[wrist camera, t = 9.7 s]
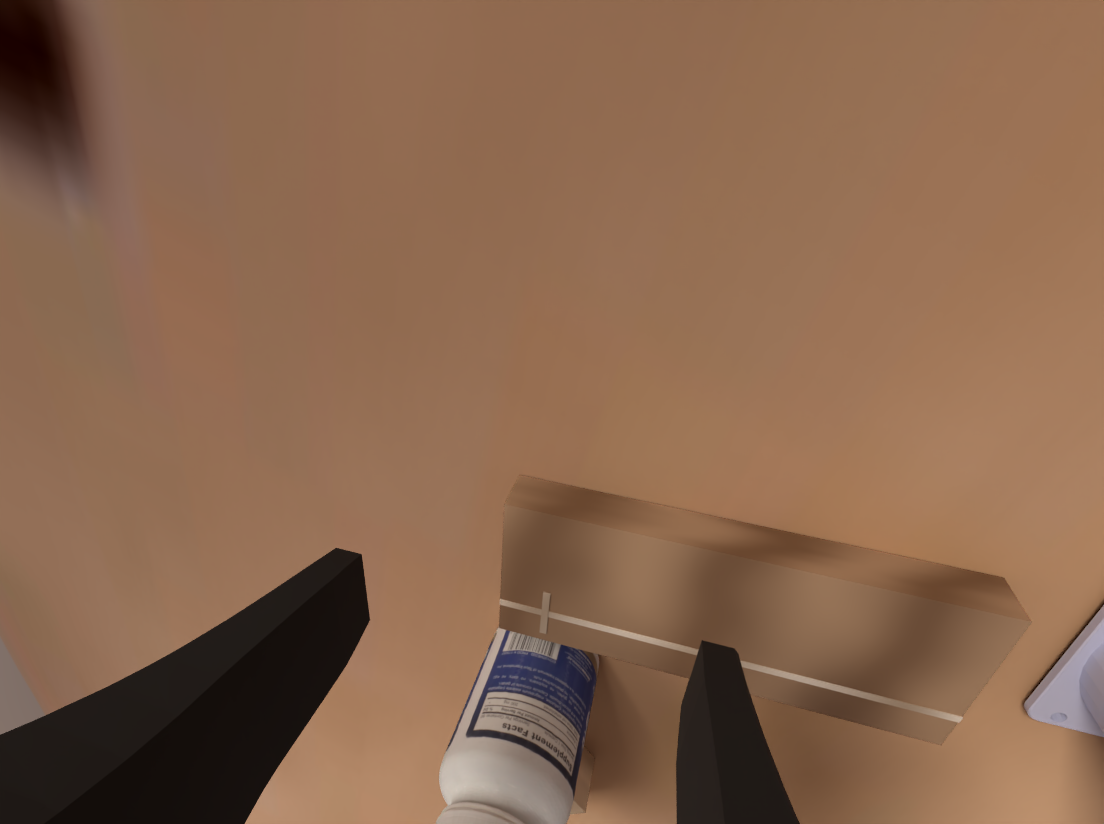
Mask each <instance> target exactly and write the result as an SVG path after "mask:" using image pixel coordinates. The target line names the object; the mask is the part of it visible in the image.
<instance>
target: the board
mask: <svg viewBox="0 0 1104 824" xmlns="http://www.w3.org/2000/svg"><path fill="white" fill-rule="evenodd" d="M1031 623H1032V621H1031V619H1030V618H1029V616H1028V615H1027V613H1026V612H1025V610H1024V608H1023V607H1022V605H1021V604H1020V602H1019V601H1018V599H1017V597H1016V596H1015V594H1014V593H1013V591H1012V590H1011V588H1010V586H1009V585H1008V583H1007V582H1006V580H1005V579H1004V578H1002V577H998V576H993V575H988V574H984V573H979V572H974V571H970V570H965V569H960V568H955V567H951V566H946V565H941V564H937V563H932V562H927V561H922V560H918V559H913V558H908V557H904V556H899V555H894V554H889V553H885V552H880V551H875V550H871V549H866V548H861V547H856V546H852V545H847V544H842V543H838V542H833V541H828V540H824V539H819V538H814V537H809V536H805V535H800V534H795V533H791V532H786V531H781V530H776V529H772V528H767V527H762V526H758V525H753V524H748V523H743V522H739V521H734V520H729V519H725V518H720V517H715V516H711V515H706V514H701V513H696V512H692V511H687V510H682V509H678V508H673V507H668V506H663V505H659V504H654V503H649V502H645V501H640V500H635V499H630V498H626V497H621V496H616V495H612V494H607V493H602V492H598V491H593V490H588V489H583V488H579V487H574V486H569V485H565V484H560V483H555V482H550V481H546V480H541V479H536V478H532V477H527V476H522V475H519V477H518V479H517V481H516V483H515V485H514V486H513V488H512V490H511V492H510V494H509V496H508V498H507V500H506V502H505V504H504V521H503V545H502V569H501V593H500V617H499V628H501V629H504V630H508V631H512V632H516V633H519V634H523V635H527V636H531V637H535V638H538V639H542V640H546V641H550V642H553V643H557V644H561V645H565V646H568V647H572V648H576V649H580V650H584V651H587V652H591V653H595V654H599V655H602V656H606V657H610V658H614V659H617V660H621V661H625V662H629V663H633V664H636V665H640V666H644V667H648V668H651V669H655V670H659V671H663V672H666V673H670V674H674V675H678V676H682V677H685V678H689V679H690V676H691V673H692V670H693V666H694V663H695V660H696V657H697V654H698V650H699V647H700V644H701V641H702V640H703V641H707V642H711V643H715V644H719V645H723V646H727V647H731V648H735V650H736V651H737V652H738V654H739V657H740V661H741V665H742V669H743V672H744V676H745V679H746V683H747V686H748V689H749V692H750V695H753V696H757V697H761V698H764V699H768V700H772V701H776V702H780V703H783V704H787V705H791V706H795V707H798V708H802V709H806V710H810V711H814V712H817V713H821V714H825V715H829V716H832V717H836V718H840V719H844V720H847V721H851V722H855V723H859V724H863V725H866V726H870V727H874V728H878V729H881V730H885V731H889V732H893V733H896V734H900V735H904V736H908V737H912V738H915V739H919V740H923V741H927V742H930V743H934V744H938V745H942V744H943V742H944V741H945V740H946V738H947V737H948V736H949V734H950V733H951V732H952V730H953V729H954V727H955V726H956V725H957V723H960V721H961V720H962V719H963V715H964V714H965V713H966V711H967V710H968V708H969V707H970V706H971V704H972V703H973V702H974V700H975V699H976V698H977V696H978V695H979V693H980V692H981V691H982V689H983V688H984V687H985V685H986V684H987V683H988V681H989V680H990V679H991V677H992V676H993V674H994V673H995V672H996V670H997V669H998V668H999V666H1000V665H1001V664H1002V662H1003V661H1004V660H1005V658H1006V657H1007V655H1008V654H1009V653H1010V651H1011V650H1012V649H1013V647H1014V646H1015V645H1016V643H1017V642H1018V641H1019V639H1020V638H1021V636H1022V635H1023V634H1024V632H1025V631H1026V630H1027V628H1028V627H1029V626H1030V624H1031Z"/></svg>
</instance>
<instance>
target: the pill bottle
mask: <svg viewBox="0 0 1104 824" xmlns="http://www.w3.org/2000/svg"><path fill="white" fill-rule="evenodd" d="M598 668H599V657H598V654H595V653H591V652H587V651H584V650H580V649H576V648H572V647H568V646H565V645H561V644H557V643H553V642H550V641H546V640H542V639H538V638H535V637H531V636H527V635H523V634H519V633H516V632H512V631H508V630H504V629H501V628H499V627H498V629H497V631H496V633H495V635H494V637H493V639H492V641H491V644H490V646H489V648H488V650H487V653H486V656H485V658H484V661H483V663H482V665H481V668H480V670H479V673H478V675H477V678H476V680H475V682H474V685H473V687H472V690H471V692H470V695H469V697H468V699H467V702H466V704H465V707H464V709H463V711H462V714H461V716H460V719H459V721H458V724H457V726H456V729H455V731H454V733H453V736H452V738H451V740H450V743H449V745H448V748H447V750H446V752H445V755H444V758H443V761H442V764H441V767H440V773H439V783H440V788H441V792H442V795H443V797H444V799H445V801H446V803H447V804H448V806H447V807H446V808H445V809H444V810H443V811H442V813H441V815H440V816H439V817H438V819H437V821H436V824H566V823H567V821H568V818H569V816H570V812H571V808H572V805H573V800H574V795H575V790H576V782H577V778H578V772H579V767H580V762H581V757H582V752H583V748H584V742H585V737H586V731H587V727H588V722H589V716H590V711H591V706H592V701H593V696H594V691H595V686H596V681H597V674H598Z"/></svg>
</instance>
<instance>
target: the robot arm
mask: <svg viewBox="0 0 1104 824" xmlns="http://www.w3.org/2000/svg"><path fill="white" fill-rule="evenodd" d="M369 621H370V617H369V609H368V601H367V593H366V585H365V577H364V569H363V561H362V554H358V553H354V552H350V551H346V550H343V549H339V548H335V549H334V550H332V551H331V552H329V553H328V554H326V555H325V556H323V557H322V558H320V559H319V560H317V561H316V562H314V563H313V564H311V565H310V566H308V567H307V568H305V569H304V570H302V571H301V572H299V573H298V574H296V575H295V576H293V577H292V578H290V579H289V580H287V581H286V582H284V583H283V584H281V585H280V586H278V587H277V588H275V589H274V590H272V591H271V592H269V593H268V594H266V595H265V596H263V597H262V598H260V599H259V600H257V601H256V602H254V603H252V604H251V605H249V606H248V607H246V608H245V609H243V610H242V611H240V612H239V613H237V614H236V615H234V616H232V617H231V618H229V619H228V620H226V621H224V622H223V623H221V624H219V625H218V626H216V627H214V628H213V629H211V630H209V631H208V632H206V633H205V634H203V635H201V636H200V637H198V638H196V639H195V640H193V641H191V642H190V643H188V644H186V645H185V646H183V647H181V648H179V649H178V650H176V651H174V652H172V653H171V654H169V655H167V656H165V657H163V658H162V659H160V660H158V661H156V662H154V663H152V664H151V665H149V666H147V667H145V668H143V669H141V670H139V671H137V672H135V673H133V674H131V675H129V676H128V677H126V678H124V679H122V680H120V681H118V682H116V683H114V684H112V685H110V686H108V687H106V688H104V689H102V690H99V691H97V692H95V693H93V694H91V695H89V696H87V697H84V698H82V699H80V700H78V701H76V702H74V703H71V704H69V705H67V706H65V707H63V708H61V709H58V710H56V711H54V712H52V713H50V714H48V715H46V716H43V717H41V718H39V719H37V720H34V721H32V722H30V723H27V724H25V725H23V726H21V727H18V728H15V729H13V730H11V731H9V732H6V733H4V734H1V735H0V824H245V822H246V820H247V818H248V816H249V815H250V813H251V811H252V809H253V808H254V806H255V804H256V802H257V800H258V799H259V797H260V795H261V793H262V792H263V790H264V788H265V787H266V785H267V784H268V782H269V780H270V779H271V777H272V776H273V774H274V772H275V771H276V769H277V768H278V766H279V765H280V763H281V762H282V760H283V759H284V757H285V756H286V754H287V753H288V751H289V750H290V748H291V747H292V745H293V744H294V742H295V741H296V740H297V738H298V737H299V735H300V734H301V732H302V731H303V729H304V728H305V726H306V725H307V723H308V722H309V720H310V719H311V717H312V716H313V714H314V713H315V712H316V710H317V709H318V707H319V706H320V704H321V703H322V701H323V700H324V698H325V697H326V695H327V694H328V692H329V691H330V689H331V688H332V686H333V685H334V683H335V682H336V680H337V679H338V677H339V676H340V674H341V673H342V671H343V670H344V668H345V667H346V665H347V663H348V661H349V659H350V658H351V656H352V654H353V652H354V650H355V648H356V646H357V644H358V642H359V640H360V638H361V636H362V634H363V633H364V631H365V629H366V627H367V625H368V623H369ZM1024 708H1025V710H1026V712H1027V714H1028V715H1029V716H1030V717H1031V718H1032V719H1035V720H1037V721H1041V722H1045V723H1049V724H1053V725H1057V726H1061V727H1065V728H1069V729H1073V730H1077V731H1081V732H1085V733H1089V734H1093V735H1097V736H1101V737H1104V605H1103V607H1102V608H1101V609H1100V610H1099V611H1098V613H1097V614H1096V615H1095V616H1094V618H1093V619H1092V620H1091V621H1090V623H1089V624H1088V625H1087V626H1086V628H1085V629H1084V630H1083V631H1082V632H1081V634H1080V635H1079V636H1078V637H1077V639H1076V640H1075V641H1074V642H1073V644H1072V645H1071V646H1070V647H1069V648H1068V650H1067V651H1066V652H1065V653H1064V655H1063V656H1062V657H1061V658H1060V660H1059V661H1058V662H1057V663H1056V664H1055V666H1054V667H1053V668H1052V669H1051V671H1050V672H1049V673H1048V674H1047V676H1046V677H1045V678H1044V679H1043V680H1042V682H1041V683H1040V684H1039V685H1038V687H1037V688H1036V689H1035V690H1034V692H1033V693H1032V694H1031V695H1030V696H1029V698H1028V699H1027V700H1026V701H1025V703H1024ZM676 781H677V824H800V823H799V821H798V819H797V817H796V814H795V812H794V810H793V807H792V805H791V803H790V800H789V798H788V795H787V793H786V791H785V788H784V786H783V783H782V781H781V778H780V776H779V773H778V771H777V768H776V765H775V763H774V760H773V758H772V755H771V753H770V750H769V747H768V745H767V742H766V739H765V737H764V734H763V731H762V728H761V726H760V723H759V720H758V717H757V714H756V711H755V708H754V705H753V702H752V699H751V696H750V692H749V689H748V686H747V683H746V679H745V676H744V672H743V669H742V665H741V661H740V657H739V654H738V652H737V651H736V650H735V648H731V647H727V646H723V645H719V644H715V643H711V642H707V641H703V640H702V641H701V644H700V647H699V650H698V654H697V657H696V660H695V663H694V666H693V670H692V673H691V676H690V679H689V682H688V686H687V689H686V692H685V695H684V698H683V701H682V705H681V714H680V725H679V736H678V748H677V761H676Z"/></svg>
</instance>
